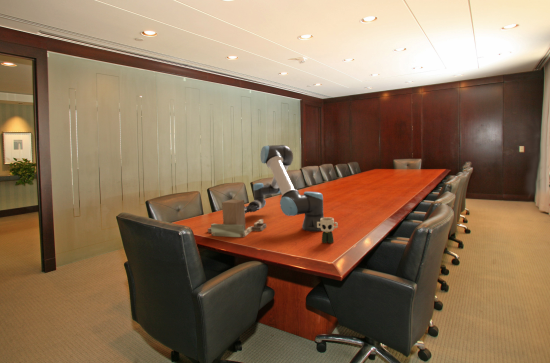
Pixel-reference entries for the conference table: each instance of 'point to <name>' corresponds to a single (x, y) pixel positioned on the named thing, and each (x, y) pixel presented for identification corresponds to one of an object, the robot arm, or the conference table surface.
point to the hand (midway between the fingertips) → (241, 212)
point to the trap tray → (235, 229)
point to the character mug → (327, 229)
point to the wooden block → (234, 212)
